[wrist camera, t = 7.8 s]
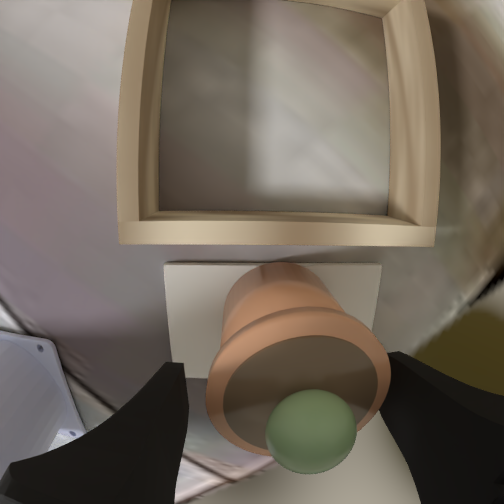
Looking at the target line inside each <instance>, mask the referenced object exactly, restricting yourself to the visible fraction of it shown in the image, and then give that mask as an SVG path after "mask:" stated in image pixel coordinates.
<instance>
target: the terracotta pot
mask: <svg viewBox="0 0 504 504" xmlns="http://www.w3.org/2000/svg"><path fill="white" fill-rule="evenodd" d="M390 379H391V368H390V362H389V358H388V355H387V353H386V351H385V349H384V347H383V346H382V344H381V343H380V342H379V340H378V339H377V338H376V337H375V335H374V334H373V333H372V332H371V330H370V329H369V328H368V327H367V326H366V325H365V324H364V323H363V322H361V321H360V320H358V319H357V318H355V317H354V316H351V315H349V314H347V313H345V311H344V310H343V309H342V307H341V306H340V305H339V303H338V302H337V300H336V299H335V298H334V296H333V295H332V294H331V292H330V291H329V290H328V288H327V287H326V286H325V284H324V283H323V282H322V281H321V279H320V278H319V277H318V276H317V275H316V274H315V273H313V272H312V271H310V270H309V269H307V268H305V267H303V266H300V265H297V264H294V263H288V262H273V263H268V264H264V265H261V266H258V267H256V268H254V269H251V270H250V271H248V272H247V273H245V274H244V275H243V276H241V277H240V278H239V279H238V280H237V281H236V282H235V283H234V285H233V286H232V288H231V289H230V291H229V293H228V295H227V297H226V300H225V303H224V308H223V319H222V331H221V342H220V350H219V351H218V352H217V354H216V356H215V358H214V360H213V361H212V364H211V367H210V370H209V374H208V379H207V387H206V408H207V413H208V415H209V418H210V420H211V422H212V424H213V425H214V427H215V428H216V429H217V431H218V432H219V433H220V434H221V435H222V436H223V437H224V438H226V439H227V440H228V441H229V442H231V443H232V444H234V445H236V446H238V447H240V448H242V449H244V450H246V451H249V452H252V453H256V454H260V455H265V456H272V457H273V458H274V459H275V461H276V462H277V463H278V464H280V465H281V466H283V467H284V468H286V469H288V470H290V471H292V472H295V473H300V474H317V473H322V472H325V471H328V470H330V469H332V468H334V467H335V466H337V465H338V464H340V463H341V462H342V461H343V460H344V459H345V458H346V457H347V456H348V454H349V453H350V451H351V450H352V448H353V445H354V443H355V440H356V435H357V432H358V431H359V430H361V429H362V427H364V426H365V425H366V424H367V423H368V422H369V421H370V420H371V419H372V418H373V417H374V415H375V414H376V413H377V411H378V410H379V408H380V407H381V405H382V403H383V401H384V400H385V397H386V395H387V392H388V389H389V385H390Z"/></svg>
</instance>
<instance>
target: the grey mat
mask: <svg viewBox="0 0 504 504" xmlns="http://www.w3.org/2000/svg"><path fill="white" fill-rule="evenodd" d="M264 264H268V263H176V262H165V264H164V279H165V293H166V305H167V316H168V327H169V336H170V345H171V354H172V362H177V363H184V370H185V378H208V374H209V370H210V367H211V364H212V361H213V360H214V358H215V356H216V354H217V352H218V351H219V350H220V342H221V331H222V319H223V308H224V303H225V300H226V297H227V295H228V293H229V291H230V289H231V288H232V286H233V285H234V283H235V282H236V281H237V280H238V279H239V278H240V277H241V276H243V275H244V274H245V273H247V272H248V271H250V270H251V269H254V268H256V267H258V266H261V265H264ZM294 264H297V265H300V266H303V267H305V268H307V269H309V270H310V271H312V272H313V273H315V274H316V275H317V276H318V277H319V278H320V279H321V281H322V282H323V283H324V284H325V286H326V287H327V288H328V290H329V291H330V292H331V294H332V295H333V296H334V298H335V299H336V300H337V302H338V303H339V305H340V306H341V307H342V309H343V310H344V311H345V313H347V314H349V315H351V316H354V317H355V318H357V319H358V320H360V321H361V322H363V323H364V324H365V325H366V326H367V327H368V328H369V329H370V330H371V332H372V327H373V321H374V316H375V310H376V304H377V298H378V292H379V286H380V279H381V272H382V264H380V263H294Z"/></svg>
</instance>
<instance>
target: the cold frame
mask: <svg viewBox="0 0 504 504" xmlns="http://www.w3.org/2000/svg"><path fill="white" fill-rule="evenodd" d="M287 1H296V2H304V3H312V4H318V5H324V6H330V7H336V8H341V9H346V10H350V11H355V12H359V13H364V14H368V15H372V16H375V17H379V18H382V21H383V28H384V36H385V45H386V55H387V66H388V80H389V99H390V177H389V197H388V212H387V216H385V215H366V214H345V213H319V212H284V211H159V133H160V110H161V92H162V78H163V66H164V55H165V45H166V36H167V28H168V20H169V12H170V5H171V0H133V3H132V8H131V13H130V19H129V25H128V31H127V37H126V44H125V51H124V59H123V67H122V76H121V86H120V98H119V112H118V131H117V213H118V232H119V244H222V245H340V246H412V247H434V242H435V234H436V225H437V214H438V202H439V187H440V159H441V136H440V108H439V93H438V82H437V72H436V64H435V56H434V49H433V43H432V37H431V31H430V26H429V20H428V16H427V11H426V6H425V2H424V0H287Z"/></svg>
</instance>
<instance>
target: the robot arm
mask: <svg viewBox="0 0 504 504" xmlns="http://www.w3.org/2000/svg"><path fill="white" fill-rule="evenodd" d="M40 345H41V346H42V347H43V348H42V347H41V346H40ZM387 355H388V358H389V362H390V368H391V379H390V385H389V389H388V392H387V395H386V397H385V400H384V401H383V403H382V405H381V407H380V408H379V411H380V414H381V416H382V418H383V420H384V422H385V424H386V426H387V427H388V429H389V431H390V433H391V434H392V436H393V438H394V439H395V442H396V443H397V445H398V447H399V449H400V451H401V452H402V454H403V456H404V458H405V460H406V462H407V464H408V466H409V469H410V472H411V474H412V477H413V480H414V482H415V485H416V488H417V491H418V494H419V498H420V501H421V504H504V396H502V395H498V394H494V393H490V392H487V391H484V390H481V389H478V388H475V387H472V386H469V385H467V384H465V383H463V382H460V381H458V380H456V379H454V378H452V377H449V376H447V375H445V374H443V373H441V372H439V371H437V370H436V369H433V368H432V367H430V366H428V365H426V364H424V363H422V362H420V361H418V360H416V359H414V358H412V357H411V356H408V355H406V354H404V353H402V352H399V351H398V352H391V353H387ZM188 413H189V403H188V395H187V387H186V379H185V370H184V363H177V362H166V363H165V364H163V366H162V367H161V368H160V369H159V370H158V371H157V372H156V373H155V375H154V376H153V377H152V378H151V379H150V380H149V381H148V382H147V383H146V385H145V386H144V387H143V388H142V389H141V390H140V391H139V392H138V393H137V394H136V395H135V396H134V397H133V398H132V399H131V400H130V401H128V402H127V403H126V404H125V405H124V406H123V407H122V408H121V409H120V410H118V411H117V412H116V413H115V414H114V415H112V416H111V417H110V418H109V419H107V420H106V421H105V422H103V423H102V424H100V425H99V426H97V427H96V428H94V429H93V430H91V431H89V432H88V433H86V431H85V428H84V426H83V424H82V421H81V419H80V416H79V414H78V411H77V409H76V406H75V404H74V401H73V398H72V396H71V393H70V390H69V387H68V385H67V382H66V379H65V376H64V373H63V370H62V366H61V363H60V360H59V357H58V353H57V350H56V347H55V345H54V343H53V342H52V341H50V340H48V339H44V338H38V337H32V336H26V335H21V334H15V333H10V332H5V331H0V504H174V499H175V488H176V481H177V476H178V471H179V467H180V462H181V457H182V452H183V448H184V443H185V438H186V433H187V425H188ZM57 433H58V434H62V435H66V436H69V437H73V438H77V439H75V440H73V441H72V442H70V443H67V444H65V445H63V446H61V447H59V448H56V449H54V450H51V451H49V452H47V451H48V449H49V447H50V446H51V444H52V442H53V440H54V438H55V437H56V435H57Z"/></svg>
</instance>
